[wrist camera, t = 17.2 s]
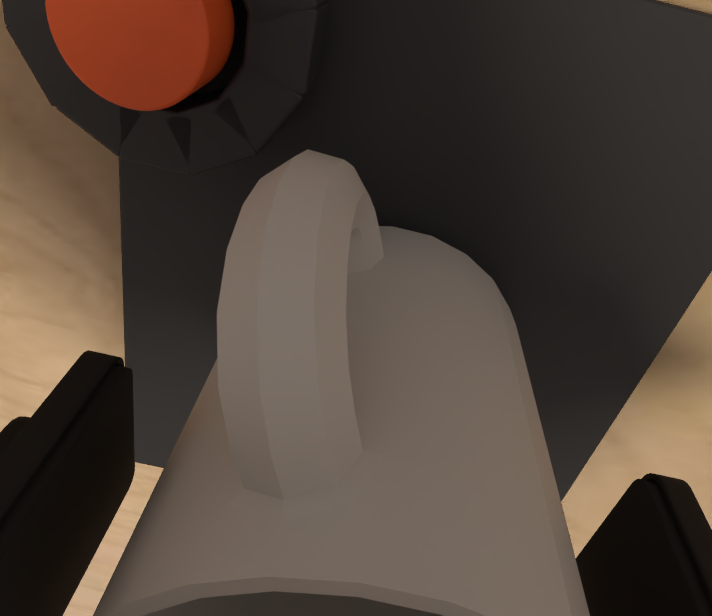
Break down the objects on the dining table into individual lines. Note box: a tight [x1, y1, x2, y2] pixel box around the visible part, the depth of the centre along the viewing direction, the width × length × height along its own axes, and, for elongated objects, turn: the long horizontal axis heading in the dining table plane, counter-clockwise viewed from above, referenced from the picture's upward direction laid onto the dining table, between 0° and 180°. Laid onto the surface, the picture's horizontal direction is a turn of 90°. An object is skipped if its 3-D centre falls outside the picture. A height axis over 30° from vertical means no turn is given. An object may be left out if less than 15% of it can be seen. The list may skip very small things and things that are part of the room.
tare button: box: [45, 0, 235, 111], centre depth 9 cm, size 3×3×2 cm
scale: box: [2, 0, 712, 501], centre depth 14 cm, size 17×15×3 cm
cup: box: [93, 149, 590, 616], centre depth 11 cm, size 7×10×9 cm
